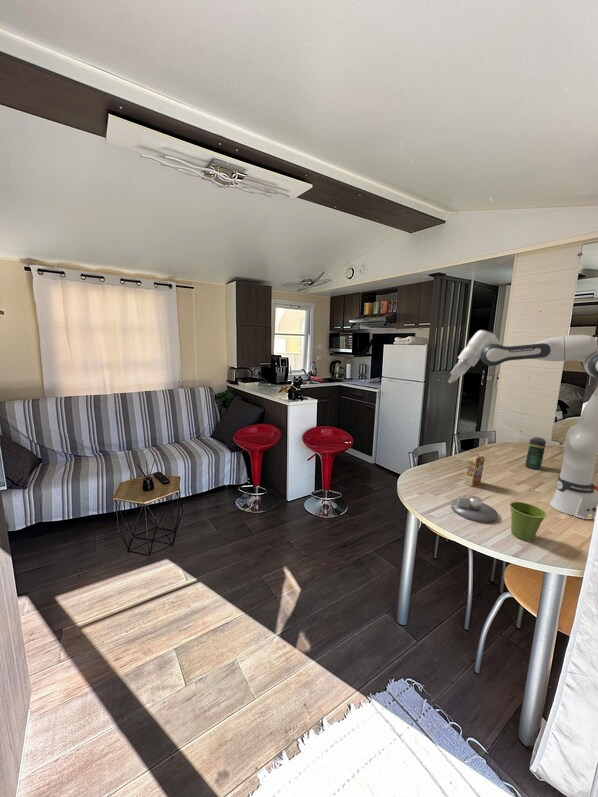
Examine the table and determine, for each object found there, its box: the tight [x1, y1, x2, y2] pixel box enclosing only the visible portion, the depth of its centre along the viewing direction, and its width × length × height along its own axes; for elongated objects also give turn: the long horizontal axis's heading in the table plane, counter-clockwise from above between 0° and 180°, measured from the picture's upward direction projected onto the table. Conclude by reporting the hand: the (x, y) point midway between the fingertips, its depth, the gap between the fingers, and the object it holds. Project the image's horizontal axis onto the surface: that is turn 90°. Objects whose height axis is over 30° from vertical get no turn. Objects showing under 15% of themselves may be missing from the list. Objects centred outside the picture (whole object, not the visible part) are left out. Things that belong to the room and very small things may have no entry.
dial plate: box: [450, 498, 499, 524], centre depth 144 cm, size 18×18×2 cm
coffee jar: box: [524, 436, 547, 470], centre depth 202 cm, size 10×8×19 cm
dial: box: [457, 495, 483, 511], centre depth 144 cm, size 10×5×4 cm, turn 82°
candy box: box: [464, 453, 486, 487], centre depth 173 cm, size 9×4×15 cm, turn 123°
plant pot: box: [509, 501, 548, 542], centre depth 127 cm, size 12×12×11 cm
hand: (451, 382), depth 172 cm, fingers open, 8 cm apart
